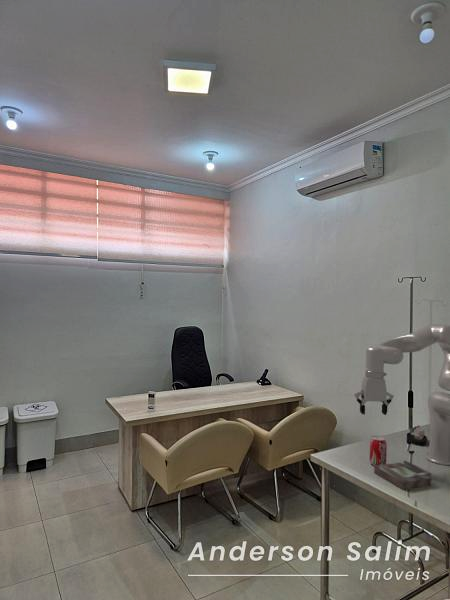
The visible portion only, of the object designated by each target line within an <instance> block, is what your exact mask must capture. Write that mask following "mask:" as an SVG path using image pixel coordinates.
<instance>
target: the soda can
mask: <svg viewBox="0 0 450 600" xmlns="http://www.w3.org/2000/svg"><path fill="white" fill-rule="evenodd" d="M369 463H370V464H371V465H372V466H380V464H383V465H387V441H386V438H385V437H383V436H379V435H372V436H371V439H370V440H369Z"/></svg>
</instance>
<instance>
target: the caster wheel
mask: <svg viewBox="0 0 450 600" xmlns="http://www.w3.org/2000/svg"><path fill="white" fill-rule="evenodd" d="M425 432H426V431H425V429H423V428H421V426H420V425H419V424H418V425H415V426H414V427H412V428H410V435H409V441H410V443H411V444H412V445H415V446H419V447H423V446H426V445H427V444H428V437H427V436H426V435H425V434H426V433H425Z"/></svg>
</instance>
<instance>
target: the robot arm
mask: <svg viewBox="0 0 450 600" xmlns="http://www.w3.org/2000/svg"><path fill="white" fill-rule="evenodd" d="M434 344H438V346H439V347H440V349H441V350H442V352H443V353H442V354H443V358H444V359H443V364H442V367H441V370H440V372H439V376H438V379H437V384H438V386H439V387H440V388H441V389H443V390H445V391H448V392H450V325H449V324H437V323H431V324H428V325H425V326H423V327H422V328H419V329H417V330H416V331H415V330H414V332H412V333H409V334H406V335H403V336H402V335H401V336H398V337H395V338H390V339H388V340H386V341H383V342H381V343H379V344H377V345H376V346H368V347H366V349H365V374H364V375H365V376H364V377H363V378H362V380H361V381H362V382H361V388H360V391H359V392H356V393H354V395H353V396H354V398H355V400H356V402H357V403H358V404H359V412H360V414H362V415H363V416H364V415H366V405H365V404H366V403H367V402H379V403H382V404H381V413H382V414H383V415H385V416H386V415H387V413H388V406H389V404H391V402H392V401H393V399H394V395H393V394H391V393H389V392H387V384H386V379H385V377H387V372H385V371H384V370H385V364H388V365H398V364H400V363H402V362H403V360H404V354H403V353H417V352H421V351H422V350H424V349H426V348H428V347H430V346H432V345H434ZM387 397H388V398H387ZM360 398H361V399H360ZM427 405H428V406H427V407H428V411H429V439H428V440H429V441H428V442H429V445H428V447H429V448H428V452H427V453H425V455H424V456H425V459H426V460H427V461H428V462H432V463H433V464H438V465H443V466H450V393H447V392H444V391H433V392H431V393H430V394H429V395H428V398H427Z"/></svg>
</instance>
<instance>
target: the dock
mask: <svg viewBox="0 0 450 600" xmlns="http://www.w3.org/2000/svg"><path fill="white" fill-rule="evenodd" d="M373 469H374V472H373V473H374V475H376V476H378V477H379V478H382V479H383V480H385V481H386V482H388V483H391V484H392V485H394V486H395V487H396V488H398V489H400V490H402V491H407V490H408V491H409V490H414V489H419V488H425V487H430V486H431V485H432V473H431V472H429V471H427V470H425V469H424V468H422V467H420V466H418V465H415V464H414V463H412V462H410V461H407V460H403V463H402V462H395V463H388V464H387V463H386V465H383V464H380V466H374V468H373Z"/></svg>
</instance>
